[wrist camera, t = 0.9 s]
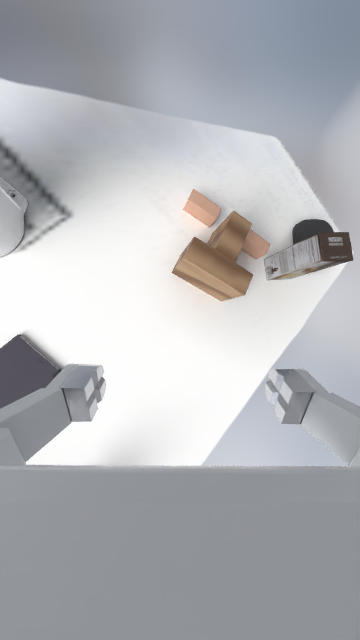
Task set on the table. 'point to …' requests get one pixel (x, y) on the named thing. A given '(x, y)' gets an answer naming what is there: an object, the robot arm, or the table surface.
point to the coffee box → (310, 256)
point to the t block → (217, 261)
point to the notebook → (22, 371)
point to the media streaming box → (309, 229)
